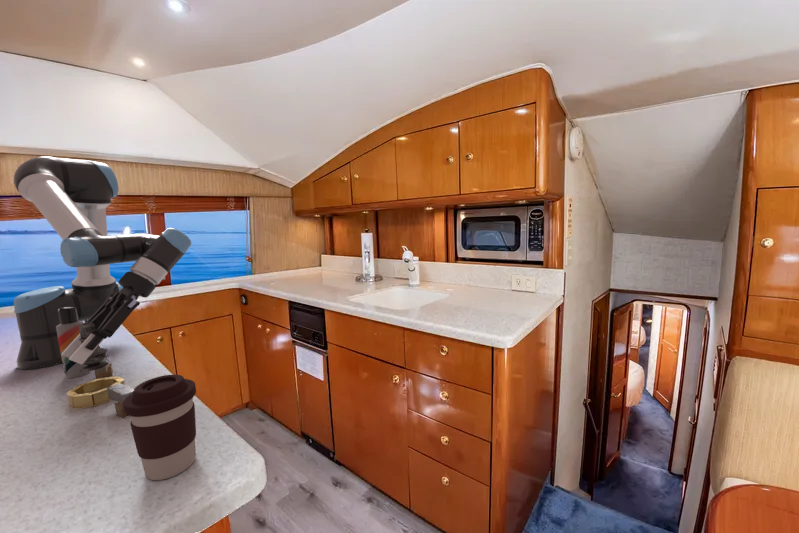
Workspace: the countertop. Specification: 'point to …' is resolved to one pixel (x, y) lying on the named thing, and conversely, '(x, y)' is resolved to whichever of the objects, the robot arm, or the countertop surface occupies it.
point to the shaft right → (119, 397)
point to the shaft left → (104, 370)
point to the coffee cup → (163, 424)
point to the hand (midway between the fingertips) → (71, 359)
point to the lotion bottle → (69, 339)
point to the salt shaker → (97, 354)
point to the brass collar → (92, 392)
